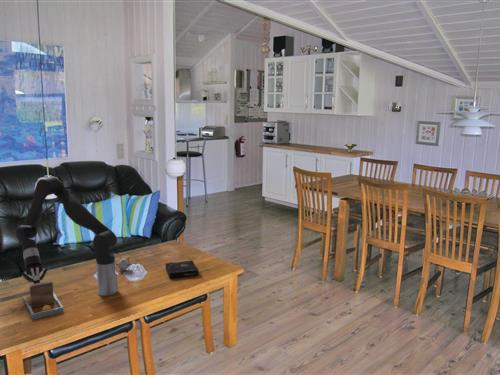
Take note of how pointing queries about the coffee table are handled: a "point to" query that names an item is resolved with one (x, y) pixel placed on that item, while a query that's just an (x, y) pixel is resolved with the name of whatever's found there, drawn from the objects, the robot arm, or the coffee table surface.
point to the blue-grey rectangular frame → (46, 313)
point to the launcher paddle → (41, 294)
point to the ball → (46, 308)
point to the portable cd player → (181, 269)
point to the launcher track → (29, 305)
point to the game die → (124, 263)
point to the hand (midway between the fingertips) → (37, 287)
